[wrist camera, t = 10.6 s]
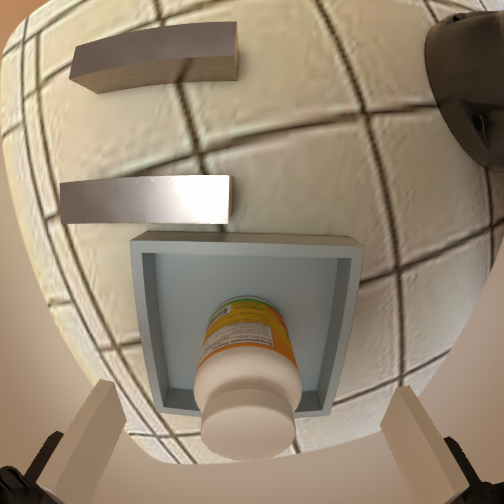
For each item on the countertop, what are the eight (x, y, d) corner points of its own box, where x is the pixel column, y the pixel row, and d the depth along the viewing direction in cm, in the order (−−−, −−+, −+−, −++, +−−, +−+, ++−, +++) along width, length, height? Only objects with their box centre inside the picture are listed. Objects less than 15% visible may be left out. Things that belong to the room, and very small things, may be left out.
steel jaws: (238, 50, 15) (236, 21, 11) (231, 214, 18) (227, 224, 14) (102, 65, 15) (75, 46, 11) (92, 214, 18) (61, 224, 14)
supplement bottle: (282, 360, 20) (303, 466, 10) (209, 359, 20) (190, 466, 10) (288, 294, 19) (324, 391, 9) (207, 292, 18) (175, 390, 9)
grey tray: (347, 236, 18) (364, 246, 15) (321, 391, 22) (329, 415, 19) (146, 231, 18) (129, 240, 15) (164, 388, 21) (156, 411, 18)
